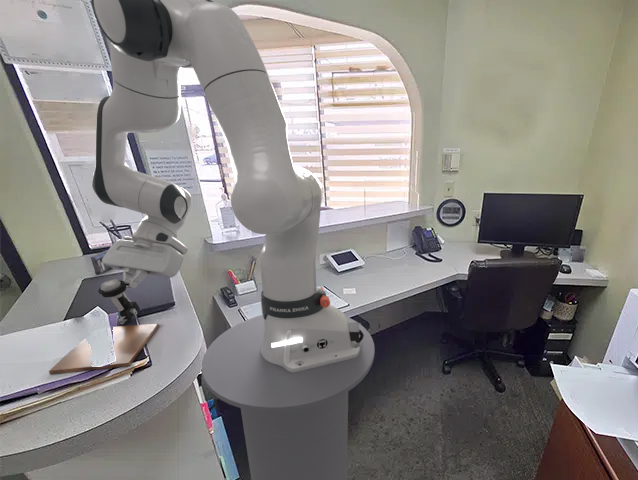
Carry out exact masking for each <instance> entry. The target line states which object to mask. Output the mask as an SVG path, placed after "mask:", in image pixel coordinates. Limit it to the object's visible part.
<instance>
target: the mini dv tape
mask: <svg viewBox="0 0 638 480" xmlns="http://www.w3.org/2000/svg"><path fill="white" fill-rule="evenodd" d="M108 250H109V249H106V250H103V251H101V252H99V253H96V254H94V255H92V256H90V260H91V264H92V267H93V270H94V273H95V274H96V275H102V274H103V273H105V272H107V271H109V270H111V269H112V268H111V267H109V266H107V265H105V264H103V262H102V259H103V257H104V255H105V254H106V253H107V251H108Z"/></svg>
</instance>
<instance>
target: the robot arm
mask: <svg viewBox="0 0 638 480" xmlns="http://www.w3.org/2000/svg"><path fill="white" fill-rule="evenodd" d="M91 5H92V9H93V13H94V16H95V19H96V22H97V24H98V27H99V28H100V30H101V31H102V33H103V35H104V36H105V38H106V39H107V40H108V41H109V43H110V68H111V69H110V70H111V76H112V90H111V93H110V95H108V96H104V97H103V98H102V99H101V100H100V101H99V104H98V107H97V111H96V122H95V123H96V126H95V165H94V170H93V174H92V179H91V186H92V189H93V191H94V193H95V195H96V196H97V197H98V199H99V200H100V201H101V202H102V203H103V204H105V205H110V206H114V207H119V208H124V209H128V210H130V211H134V212H137V213H140V214H144V215H145V217H143V218H142V219H141V220H140V222H139V223H138V225H137V227H136V228H135V230H134V232H133V234H132V235H131V236H127V235H125V236H124V237H122V238H119V239H118V240H116V241H115V242H113V243H112V245H111V246H110V247H109V248H108V249H107V250H108V251H107V253H106V254H105V255H104V257H103V259H102V262H103V264H105V265H107V266H109V267H111V269H113V270H114V269H115V270H120V271H121V270H122V281H124V282H125V285H126V289H127V288H128V289H137V288H138V286H139V284H140V283H141V282H143V281H144V280H146V279H147V277H148V275H153V276H158V277H159V276H160V277H163V278H164V277H165V278H169V279H170V278H171V279H172V278H174V277H175V276H176V275H177V274H178V273H179V271H180V269H181V267H182V265H183V262H184V258H185V257H184V255H186V254H187V253H188V251H189V248H188V247H187V246H186V245H185V244H183V243H182V242H181V241H180V240H178V239H177V238H178V235H179V234H178V233H179V230H181V228H182V227H183V226H184V224H185V223H186V220H187V218H188V216H189V213H190V211H191V207H192V203H193V197H192V196H191V194H190V193H189V192H188V191H187V189H185V188H184V187H182V186H180V185H178V184H175V183H173V182H171V181H168V180H166V179H163V178H161V177H158V176H157V177H156V176H153V175H149V174H147V173H144V172H141V171H138V170H135V169H133V168H132V167H131V166H129V165H128V164H127V163H126V155H127V154H126V153H127V141H128V135H129V133H139V134H140V133H142V134H143V133H144V134H150V133H151V134H152V133H158V132H163V131H166V130H168V129H171V128H172V127H173V126H174V125H176V123H177V122H179V119H180V116H181V112H182V111H181V110H182V89H181V86H182V85H181V71H182V68H183V69H193V70H194V72H195V75H196V77H197V79H198V83H199V84H200V87H201V90H202V91H203V94H204V96H205V98H206V100H207V102H208V105H209V107H210V110H211V112H212V114H213V116H214V118H215V120H216V122H217V125H218V127H219V129H220V132H221V134H222V136H223V139H224V141H225V145H226V148H227V152H228V156H229V161H230V165H231V170H232V177H233V185H232V186H233V187H232V190H231V193H230V204H231V210H232V212H233V214H234V216H235V218H236V220H237V221H238V222H239V224H241V226H243V227H244V228H245V229H247V230H248V231H250V232H253V233H255V234H259V235H264V236H265V237H264V241H263V246H262V248H261V251H260V254H259V266H260V267H259V268H260V277H261V287H262V290H261V294H260V307H261V315H263V318H264V336H263V342H262V346H261V355H262V356H263V358H264V359H265V360H267V361H268V362H270V363H273V364H276V365H280V366H282V367H284V368H285V369H286V370H287V371H289V372H292V373H294V372H299V371H303V370H307V369H311V368H315V367H319V366H323V365H327V364H332V363H336V362H340V361H344V360H348V359H352V358H355V357H357V356H358V355H359V353H360V351H361V343H360V342H361V341H362V339H363V337H364V334H363V332H362V331H361V330H359V324H360V322H358V321H356V322H348V319H347V317H348V316H346V314H345V313H344V311H342V310H341V309H338V308H337V307H335V306H333V305H332V304H331V300H330V298H329V297H328V296H327V293H326V291H325V289H324V288H323V286H321V285H320V287H319V286H317V247H318V239H319V231H320V221H321V220H320V219H321V206H322V201H323V197H324V193H323V192H324V190H323V187H322V183H321V182H320V180H319V178H318V177H317V176H316V175H315V174H314V173H312V172H311V171H310V170H308V169H306V168H304V167H301V166H299V165H298V166H297V165H294V163H293V159H292V154H291V150H290V145H289V139H288V123H287V120H286V116H285V114H284V112H283V109H282V107H281V104H280V101H279V99H278V96H277V94H276V92H275V89H274V85H273V83H272V81H271V78H270V75H269V73H268V70H267V68H266V66H265V64H264V61H263V58H262V57H261V54H260V53H259V50H258V48H257V47H256V43H254V40H253V39H252V37H251V35H250V33H249V32H248V30H247V28H246V26H245V25H244V22H243V21H242V19H241V18H240V17H239V15H238V14H237V13H236V12H235V11H234V10H233V9H232V8H230V7H229V6H227V5H225V4H223V3H220V2H217V1H213V0H91ZM359 334H360V338H359Z"/></svg>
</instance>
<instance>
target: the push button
mask: <svg viewBox="0 0 638 480" xmlns="http://www.w3.org/2000/svg"><path fill="white" fill-rule="evenodd" d="M99 287H100V288H99V289H98V290H97V292H98V294H99V295H101V296H102V297H103V298H109V300H111V301H112V303H113V304H114V306H115V308H116V309H117V311H118V312H116V315H117V317H118V318H119V319H117V320H118V322H120V323H119V325H123V324H125V322H126V321H131V320H132V318H134V316H137V314H138V312H139V311H140V310H141V308H140V306H139V305H138V302H137V301H131V300H130V299H129V297H128V295H127V294H126V293H125V291H126V290H127V287H126V285H125V282H124V281H123V280H118V278H112V279H109V280H106V281H103V283H101V284H100V286H99Z"/></svg>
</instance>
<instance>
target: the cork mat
mask: <svg viewBox="0 0 638 480" xmlns="http://www.w3.org/2000/svg"><path fill="white" fill-rule="evenodd" d="M159 326H160V325H159V323H147V324H135V325H134V324H133V325H121V326H112V327H113V330H112V331H113V341H114V351H115V355H116V361H115V362H114V363H112V364H110V365H109V366H105V367H92V366H91V365H94V364H91V363H93V361H91V362H90V360H89V359H90V358H89V357H90V356H89V355H91V354H92V353H91V352H92V350H91V346H90V344H88V341H87V342H86V339H85V337H84V338H83V339H84V340H83V339H82V340H81V341H80V342H78V344H76V345H75V346H74V347H73V348H72V349H71V350H70V351H69V352H68V353H66V354H65V355H64V356H63V357H62V358H61V359H60V360H59V361H58V362H57V363H55V365H53V367H51V368H50V369H49V370H48V373H49V375H56V374H58V375H59V374H67V373H76V372H84V371H86V372H87V371H96V370H105V369H114V368H124V367H130V366H131V364H132V363H134V361H135V359H136V358H137V356H138V355H139V354H140V353H141V352H142V350H143V348H144V347H145V346H146V345H147V343H148V342H149V340H151V338H152V336H153V335H154V333H155V332H156V331H157V330H158V328H159ZM88 346H89V347H88ZM90 351H91V352H90Z"/></svg>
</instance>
